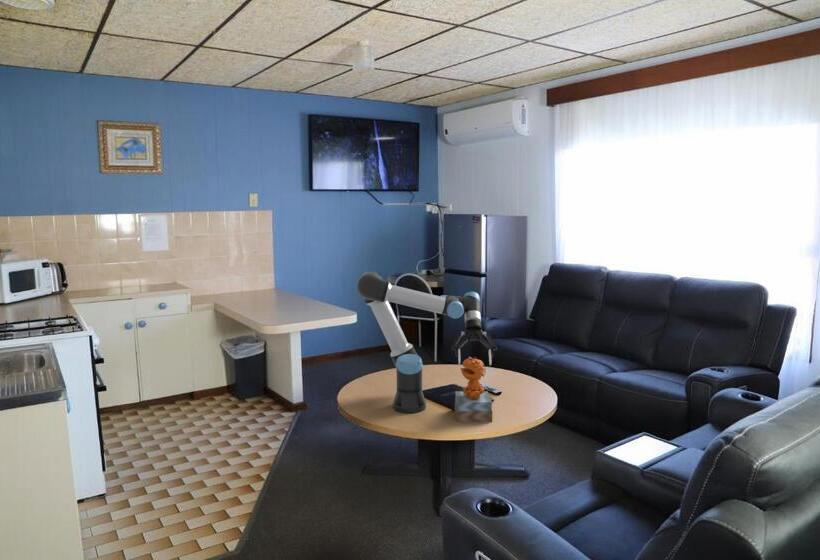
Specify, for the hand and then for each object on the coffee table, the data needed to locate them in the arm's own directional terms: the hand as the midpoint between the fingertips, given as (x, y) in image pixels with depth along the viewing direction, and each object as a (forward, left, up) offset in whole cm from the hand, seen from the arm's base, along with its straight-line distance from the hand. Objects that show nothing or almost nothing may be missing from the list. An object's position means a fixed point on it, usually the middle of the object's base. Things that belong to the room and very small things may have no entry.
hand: (475, 363), depth 260 cm
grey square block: (-1, -4, -22) cm, 23 cm away
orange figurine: (-1, -4, -14) cm, 15 cm away
